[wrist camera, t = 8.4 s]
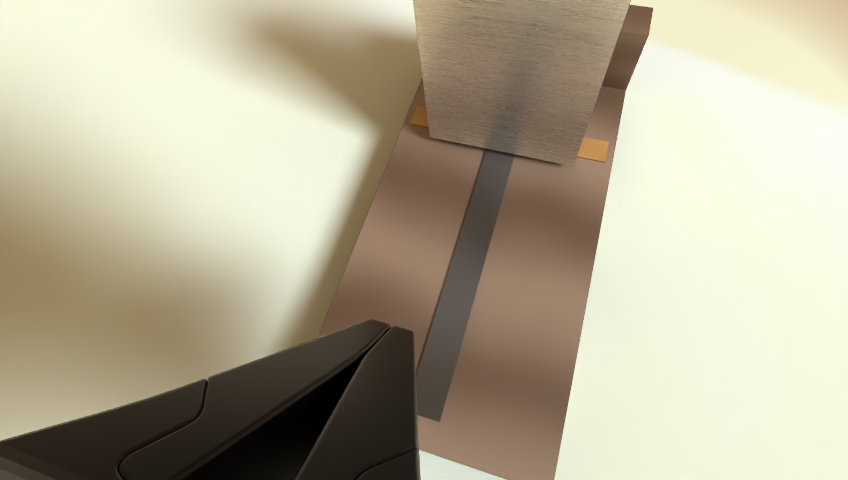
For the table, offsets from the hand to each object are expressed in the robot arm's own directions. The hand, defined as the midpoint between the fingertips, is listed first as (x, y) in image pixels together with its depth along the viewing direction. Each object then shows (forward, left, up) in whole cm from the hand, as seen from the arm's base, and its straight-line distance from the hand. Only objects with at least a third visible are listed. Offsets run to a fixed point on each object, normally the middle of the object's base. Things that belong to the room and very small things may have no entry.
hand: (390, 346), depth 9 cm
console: (+2, +7, -10) cm, 13 cm away
